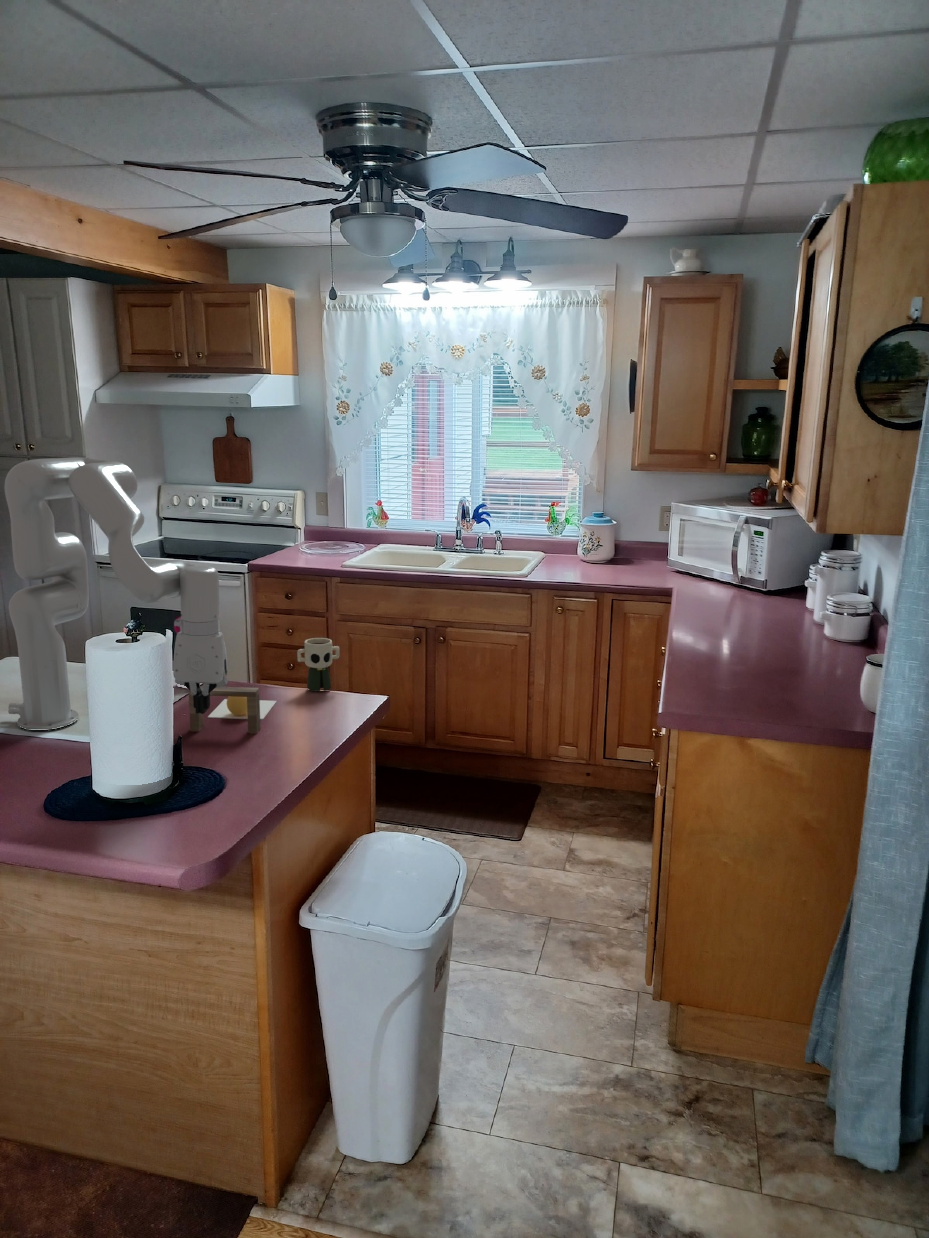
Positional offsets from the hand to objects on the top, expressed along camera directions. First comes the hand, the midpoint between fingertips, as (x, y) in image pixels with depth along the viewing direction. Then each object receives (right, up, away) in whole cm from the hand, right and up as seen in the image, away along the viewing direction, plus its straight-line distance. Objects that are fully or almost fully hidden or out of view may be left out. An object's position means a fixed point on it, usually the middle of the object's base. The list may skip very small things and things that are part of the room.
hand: (201, 711), depth 184 cm
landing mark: (+2, -2, +28) cm, 28 cm away
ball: (+2, 0, +23) cm, 24 cm away
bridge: (+1, -6, +14) cm, 16 cm away
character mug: (+17, +1, +44) cm, 47 cm away
